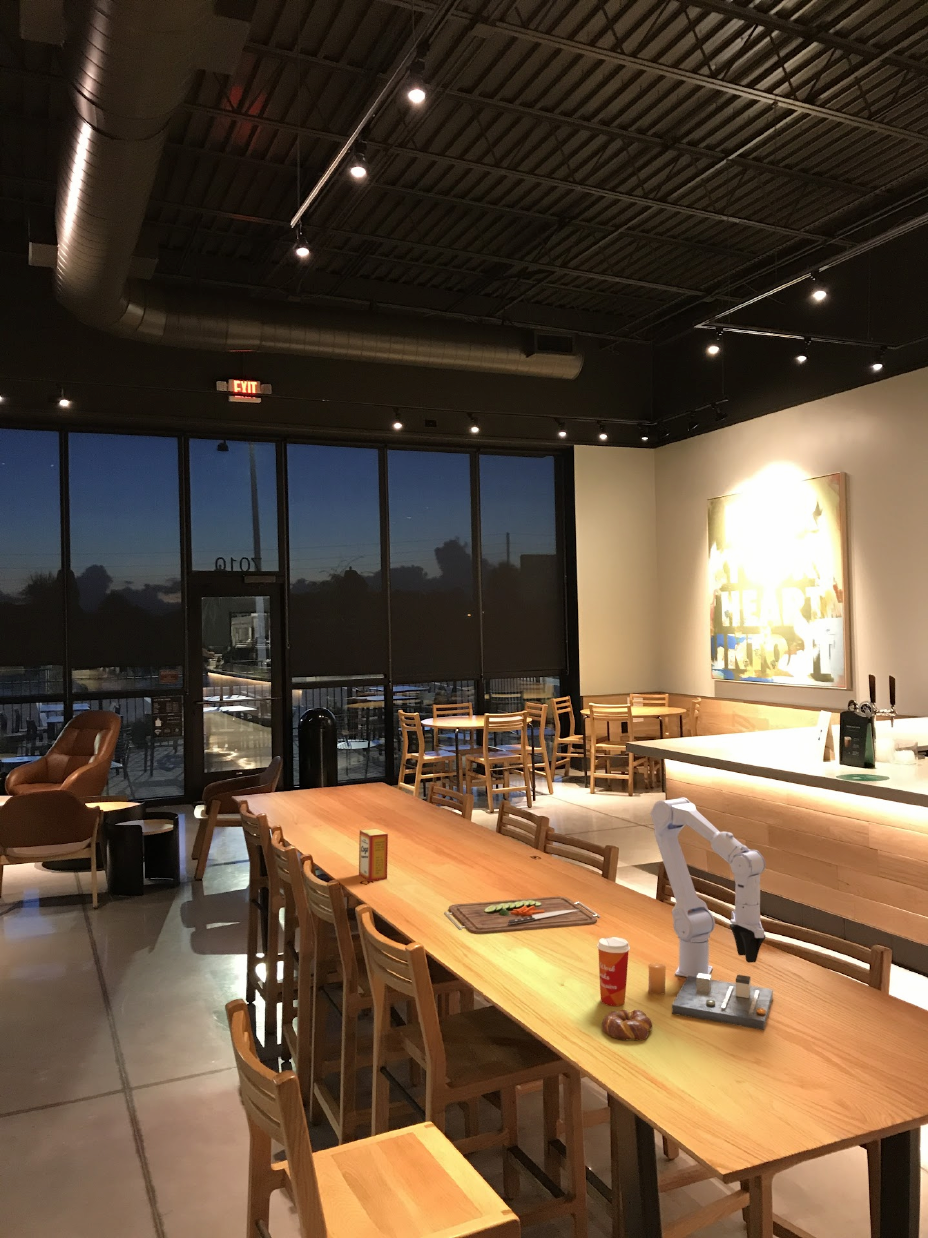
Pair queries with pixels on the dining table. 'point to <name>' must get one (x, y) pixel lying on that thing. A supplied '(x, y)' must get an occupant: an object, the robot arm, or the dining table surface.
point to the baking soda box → (373, 854)
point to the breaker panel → (722, 1002)
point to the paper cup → (613, 970)
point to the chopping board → (521, 915)
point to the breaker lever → (743, 986)
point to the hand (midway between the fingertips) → (746, 958)
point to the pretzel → (627, 1025)
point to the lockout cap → (656, 978)
